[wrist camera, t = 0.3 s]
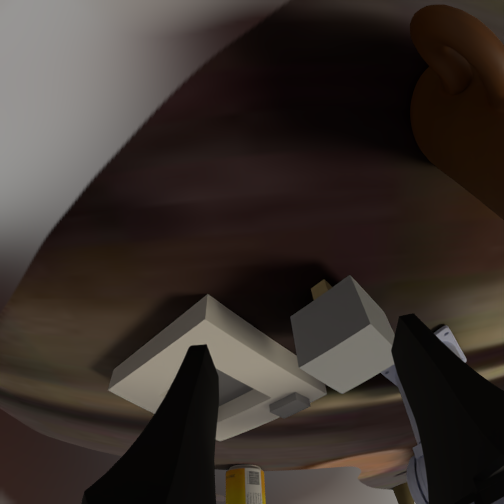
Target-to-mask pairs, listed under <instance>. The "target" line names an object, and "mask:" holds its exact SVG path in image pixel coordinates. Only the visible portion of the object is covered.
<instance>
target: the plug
mask: <svg viewBox="0 0 504 504" xmlns="http://www.w3.org/2000/svg"><path fill="white" fill-rule="evenodd" d="M311 292H312V295H313V299H314V301H312V302H311V303H310V304H308V305H307V306H305V307H304V308H302V309H301V310H299V311H298V312H296V313H295V314H293V315H292V316H290V318H291V324H292V330H293V336H294V342H295V348H296V354H297V360H298V366H299V368H300V369H301V370H303V371H305V372H306V373H308V374H310V375H311V376H313V377H314V378H316V379H318V380H319V381H321V382H323V383H324V384H326V385H328V386H329V387H331V388H333V389H334V390H336V391H338V392H340V393H341V394H343V393H345V392H347V391H349V390H350V389H352V388H354V387H356V386H358V385H360V384H361V383H363V382H365V381H367V380H368V379H370V378H372V377H374V376H375V375H377V374H379V373H380V372H382V371H384V370H386V369H387V368H389V367H390V366H392V365H394V361H393V357H392V353H391V349H392V345H393V341H394V337H395V335H394V333H393V331H392V328H391V326H390V324H389V322H388V320H387V317H386V315H385V313H384V312H383V310H382V309H381V308H380V307H379V306H378V305H377V304H376V303H375V302H374V300H373V299H372V298H371V297H370V296H369V295H368V294H367V293H366V292H365V291H364V290H363V288H362V287H361V286H360V285H359V284H358V283H357V282H356V281H355V280H354V279H353V278H352V277H351V275H349V276H348V277H346V278H345V279H343V280H342V281H341V282H339V283H338V284H336V285H335V286H334V287H332V286H331V285H330V284H329V283H328V282H327V281H326V280H325V279H324V280H322V281H321V282H319V283H318V284H317V285H315V286H314V287H312V288H311Z"/></svg>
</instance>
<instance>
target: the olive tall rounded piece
mask: <svg viewBox="0 0 504 504" xmlns="http://www.w3.org/2000/svg"><path fill="white" fill-rule="evenodd" d="M393 491H394V493H395V496H396V498H397V501H398V503H399V504H414V500H413V498H412V496H411V493H410V490H409V487H408V483H404V484H401V485H398V486H396V487H394V488H393Z"/></svg>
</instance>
